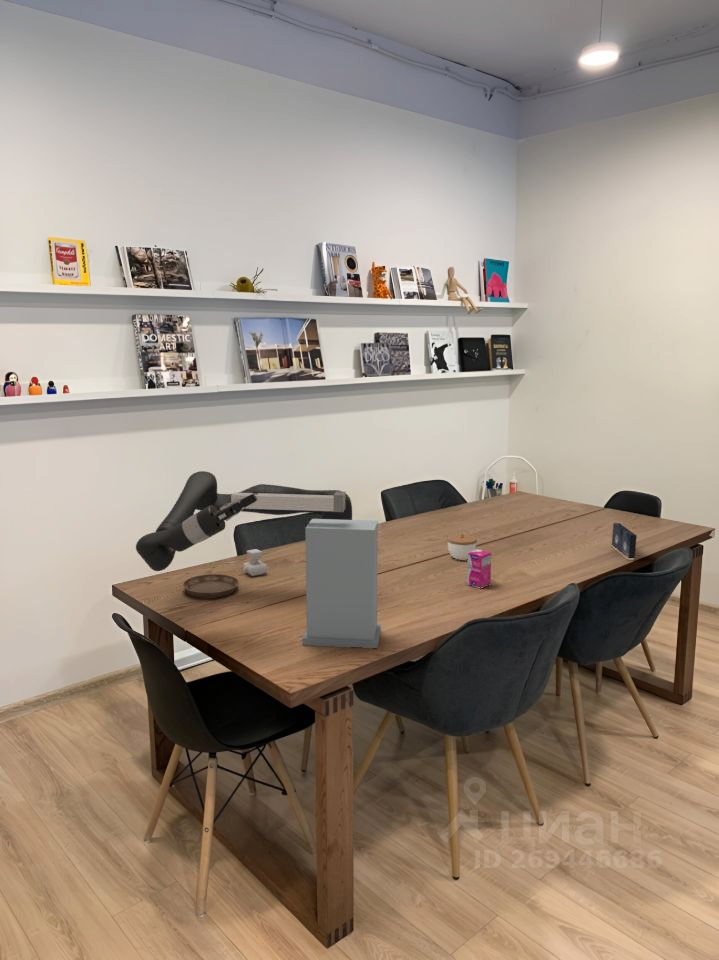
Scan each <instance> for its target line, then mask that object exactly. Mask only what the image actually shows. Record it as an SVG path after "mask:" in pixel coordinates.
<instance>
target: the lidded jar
mask: <svg viewBox="0 0 719 960" xmlns="http://www.w3.org/2000/svg"><path fill="white" fill-rule="evenodd" d="M446 539H447V540H446V541H447V549H448V553H449V554H450V555H451V557H452V558H456V559H468V552H471V551H474V550H476V549H477V548H476V547H477V542H478V541H477V537H475V536H473V535H468V534H464V533H460V534H451V535H449V536H448V537H447V538H446Z"/></svg>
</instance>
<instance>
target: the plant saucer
mask: <svg viewBox="0 0 719 960" xmlns="http://www.w3.org/2000/svg"><path fill="white" fill-rule="evenodd" d="M239 583H240V582H239V580H238V579H237V577H234V576H231V575H227V574H218V573H217V574H216V573H215V574H214V573H212V574H211V573H210V574H209V573H208V574H201V575H197V576H196V575H195V576H193V577H190V578H188V579H185V581H184V582H183V584H182V586H183V588H184V590H185V591H186V592H187V593H188V594H189V595H190V596H192V597H194V596H195V598H198V597H201V599H215V597H218V598H221V597H222V596H223V597H225V595H226V596H229V595H230V594H231V593H232V594H233V592H234V591H235V590H236V588H237V587H238V586H239Z"/></svg>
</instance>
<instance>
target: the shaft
mask: <svg viewBox="0 0 719 960" xmlns="http://www.w3.org/2000/svg"><path fill="white" fill-rule="evenodd" d="M345 493H346V491H342V492H337V491H336V492H335V494H334V495H300V494H266V493H239V492H234V493H231V494H232V495H231V503H236V502H237V501H238V500H242V499H244V498H246V497H247V496H249V495H251V494H254V495H255V497H256V499H257V501H256V502H254V503H252V504H250V505H249V506H247V507H245V506H244V507H245V508H244V509H273V510H305V511H334V512H344V510H345ZM241 502H242V501H241Z"/></svg>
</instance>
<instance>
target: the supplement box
mask: <svg viewBox="0 0 719 960" xmlns="http://www.w3.org/2000/svg"><path fill="white" fill-rule="evenodd" d="M466 564H467V566H466V567H467V569H466V573H467V574H466V585H467V584H469V585H472V586H471V587H473V586H477V587H480V588H481V587H484V586H486V585H489V584H490V585H491V574H492V552H490V551H486V550H482V549H480V548H479V549H478V548H476V549H475V550H474V551H471V552H468V560H467V563H466ZM469 585H468V586H469ZM484 588H485V587H484Z"/></svg>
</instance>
